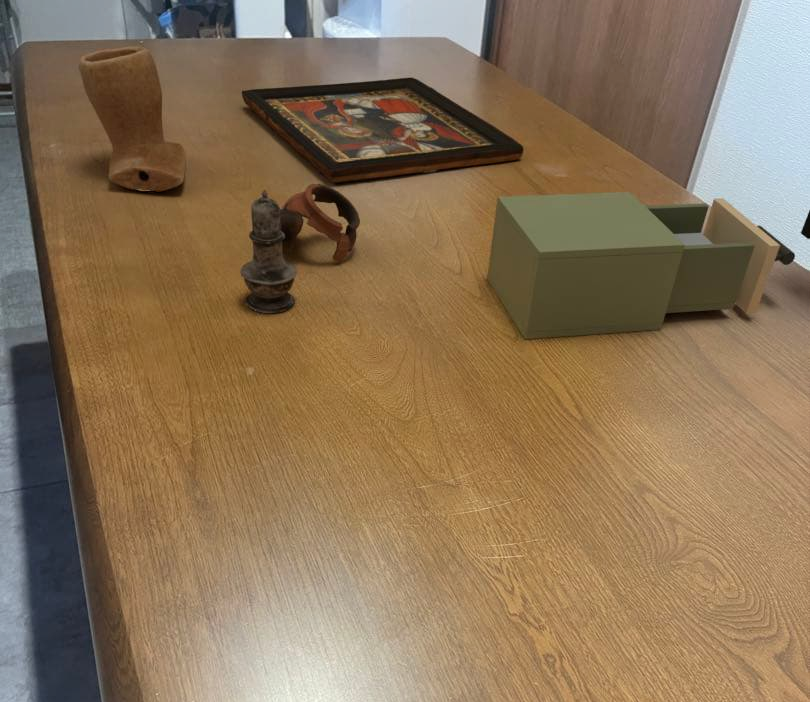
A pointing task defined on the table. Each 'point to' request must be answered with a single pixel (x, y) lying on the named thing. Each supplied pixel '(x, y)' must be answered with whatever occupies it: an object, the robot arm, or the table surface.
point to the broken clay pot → (319, 218)
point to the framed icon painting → (379, 128)
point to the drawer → (720, 258)
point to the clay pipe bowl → (132, 118)
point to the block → (693, 239)
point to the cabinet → (582, 264)
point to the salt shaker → (268, 261)
